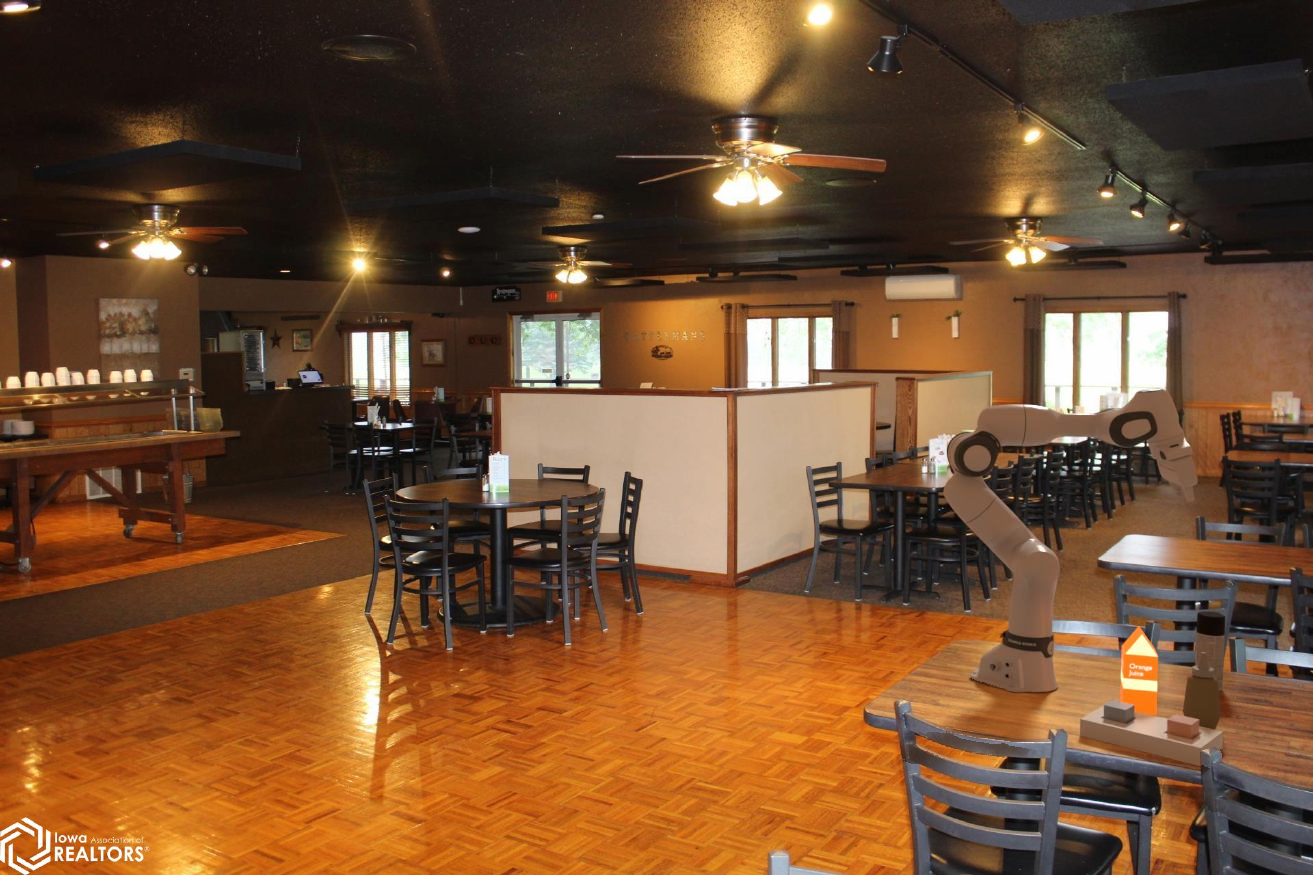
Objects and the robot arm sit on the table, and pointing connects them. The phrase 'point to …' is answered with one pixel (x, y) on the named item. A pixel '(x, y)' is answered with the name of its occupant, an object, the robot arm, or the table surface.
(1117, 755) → the table surface
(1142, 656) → the orange juice
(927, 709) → the table surface
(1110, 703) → the slate key
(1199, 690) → the squeeze bottle
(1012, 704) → the table surface
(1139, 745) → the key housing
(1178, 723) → the terracotta key
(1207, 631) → the spray can
